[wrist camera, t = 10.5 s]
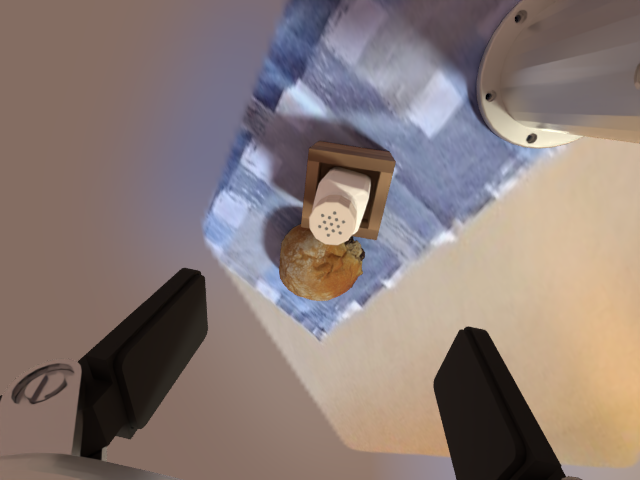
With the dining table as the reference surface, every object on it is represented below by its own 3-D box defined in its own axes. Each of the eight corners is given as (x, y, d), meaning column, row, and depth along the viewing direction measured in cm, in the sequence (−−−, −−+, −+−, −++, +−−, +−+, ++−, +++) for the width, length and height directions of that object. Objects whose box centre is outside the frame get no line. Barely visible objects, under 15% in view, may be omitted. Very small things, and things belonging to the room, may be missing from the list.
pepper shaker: (332, 163, 26) (309, 187, 18) (373, 175, 26) (369, 205, 17) (322, 202, 28) (297, 240, 19) (360, 213, 28) (351, 258, 19)
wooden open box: (318, 140, 29) (308, 148, 23) (389, 151, 28) (395, 161, 23) (311, 206, 32) (300, 226, 27) (374, 217, 32) (376, 240, 26)
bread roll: (301, 205, 36) (257, 224, 30) (375, 222, 31) (339, 249, 25) (302, 269, 40) (264, 298, 34) (367, 293, 35) (335, 332, 29)
